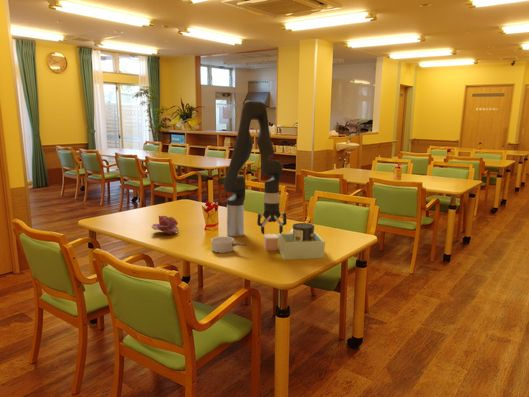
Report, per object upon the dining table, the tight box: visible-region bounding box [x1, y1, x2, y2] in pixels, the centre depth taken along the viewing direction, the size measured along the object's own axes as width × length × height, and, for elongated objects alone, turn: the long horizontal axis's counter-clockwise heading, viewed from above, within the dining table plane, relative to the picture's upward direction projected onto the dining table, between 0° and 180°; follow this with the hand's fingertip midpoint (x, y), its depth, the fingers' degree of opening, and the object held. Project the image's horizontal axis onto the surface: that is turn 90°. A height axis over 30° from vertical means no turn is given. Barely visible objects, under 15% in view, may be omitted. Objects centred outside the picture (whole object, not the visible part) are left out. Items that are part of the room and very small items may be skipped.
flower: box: [151, 215, 179, 235], centre depth 231 cm, size 15×15×10 cm
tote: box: [277, 232, 326, 260], centre depth 198 cm, size 19×15×8 cm
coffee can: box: [292, 222, 315, 242], centre depth 197 cm, size 10×10×14 cm
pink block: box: [263, 233, 279, 252], centre depth 206 cm, size 6×6×7 cm
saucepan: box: [210, 235, 248, 254], centre depth 200 cm, size 12×20×6 cm, turn 56°
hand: (271, 233), depth 205 cm, fingers open, 8 cm apart
